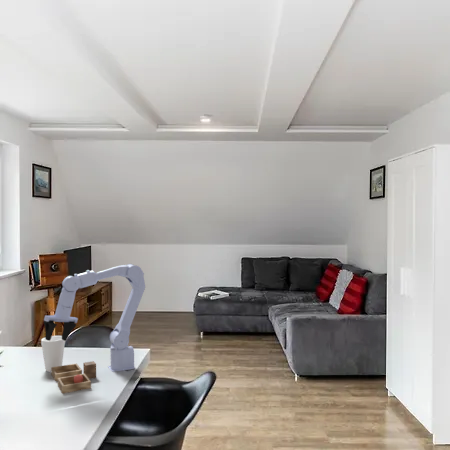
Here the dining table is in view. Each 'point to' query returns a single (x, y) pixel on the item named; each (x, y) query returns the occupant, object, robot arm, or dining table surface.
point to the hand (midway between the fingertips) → (55, 339)
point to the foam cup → (53, 352)
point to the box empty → (65, 371)
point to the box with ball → (73, 384)
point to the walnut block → (90, 369)
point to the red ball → (78, 379)
